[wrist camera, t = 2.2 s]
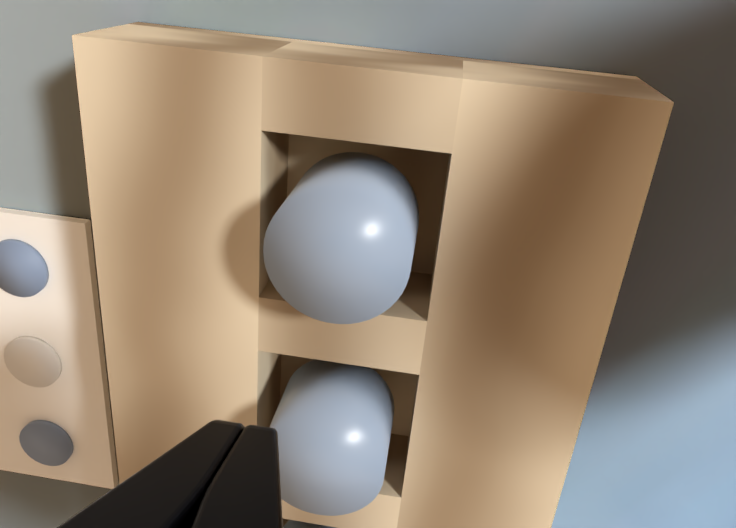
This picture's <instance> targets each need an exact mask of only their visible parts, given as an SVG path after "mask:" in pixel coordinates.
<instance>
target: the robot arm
mask: <svg viewBox="0 0 736 528" xmlns="http://www.w3.org/2000/svg"><path fill="white" fill-rule="evenodd" d="M57 528H283V518H282V500H281V483H280V465H279V448H278V433H277V431H276V429H274V428H270V427H264V426H257V425H248V426H246V427H245V426H244V425H243V424H241V423H237V422H231V421H224V420H213V421H210V422H209V423H207V424H206V425H204V426H203V427H201V428H200V429H199V430H197V431H196V432H194V433H193V434H191V435H190V436H188V437H187V438H186V439H184V440H183V441H181V442H180V443H178V444H177V445H175V446H174V447H173V448H171V449H170V450H168V451H167V452H165V453H164V454H162V455H161V456H160V457H158V458H157V459H155V460H154V461H152V462H151V463H149V464H148V465H147V466H145V467H144V468H142V469H141V470H139V471H138V472H136V473H135V474H134V475H132V476H131V477H129V478H128V479H126V480H125V481H123V482H122V483H121V484H119V485H118V486H116V487H115V488H113V489H112V490H110V491H109V492H107V493H106V494H105V495H103V496H102V497H100V498H99V499H97V500H96V501H94V502H93V503H92V504H90V505H89V506H87V507H86V508H84V509H83V510H81V511H80V512H79V513H77V514H76V515H74V516H73V517H71V518H70V519H68V520H67V521H66V522H64V523H63V524H61V525H60V526H58V527H57Z"/></svg>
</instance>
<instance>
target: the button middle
mask: <svg viewBox="0 0 736 528" xmlns="http://www.w3.org/2000/svg"><path fill="white" fill-rule="evenodd" d="M393 417H394V399H393V395H392V392H391V390H390V388H389V386H388V385H387V383H386V382H385V380H384V379H383V378H382V377H381V376H380V375H379V374H378V373H377V372H376V371H374V370H373V369H372V368H370V367H363V366H357V365H350V364H343V363H337V362H330V361H323V360H317V359H314V360H312V361H309V362H307V363H306V364H304V365H302V366H301V367H300V368H298V369H297V370H296V371H295V372H294V373H293V375H292V376H291V378H290V380H289V382H288V384H287V386H286V389H285V391H284V393H283V396H282V398H281V401H280V403H279V405H278V408H277V410H276V413H275V415H274V417H273V420H272V422H271V425H270V428H274V429H276V431H277V433H278V448H279V465H280V483H281V499H282V500H284V501H285V502H287V503H288V504H290V505H292V506H294V507H295V508H298V509H300V510H302V511H306V512H309V513H313V514H317V515H325V516H337V515H344V514H349V513H352V512H356V511H358V510H360V509H362V508H364V507H365V506H367V505H368V504H369V503H371V502H372V501H373V500H374V499H375V498H376V496H377V495H378V493H379V492H380V490H381V487H382V485H383V481H384V475H385V468H386V462H387V456H388V449H389V443H390V436H391V430H392V423H393Z"/></svg>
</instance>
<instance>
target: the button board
mask: <svg viewBox="0 0 736 528" xmlns="http://www.w3.org/2000/svg"><path fill="white" fill-rule="evenodd" d="M72 41H73V50H74V60H75V69H76V78H77V88H78V97H79V107H80V116H81V126H82V135H83V144H84V154H85V163H86V173H87V182H88V192H89V201H90V210H91V220H92V229H93V239H94V248H95V257H96V267H97V276H98V286H99V295H100V305H101V314H102V323H103V333H104V342H105V352H106V361H107V371H108V380H109V389H110V399H111V408H112V418H113V427H114V437H115V446H116V455H117V465H118V474H119V484H121V483H122V482H123V481H125V480H126V479H128V478H129V477H131V476H132V475H134V474H135V473H136V472H138V471H139V470H141V469H142V468H144V467H145V466H147V465H148V464H149V463H151V462H152V461H154V460H155V459H157V458H158V457H160V456H161V455H162V454H164V453H165V452H167V451H168V450H170V449H171V448H173V447H174V446H175V445H177V444H178V443H180V442H181V441H183V440H184V439H186V438H187V437H188V436H190V435H191V434H193V433H194V432H196V431H197V430H199V429H200V428H201V427H203V426H204V425H206V424H207V423H209V422H210V421H213V420H224V421H231V422H237V423H241V424H243V425H244V426H245V427H246V426H248V425H257V426H264V427H270V425H271V422H272V420H273V417H274V415H275V413H276V410H277V408H278V405H279V403H280V401H281V398H282V396H283V393H284V391H285V389H286V386H287V384H288V382H289V380H290V378H291V376H292V375H293V373H294V372H295V371H296V370H297V369H298V368H300V367H301V366H302V365H304V364H306V363H307V362H309V361H312V360H314V359H317V360H323V361H330V362H337V363H343V364H350V365H357V366H363V367H370V368H372V369H373V370H374V371H376V372H377V373H378V374H379V375H380V376H381V377H382V378H383V379H384V380H385V382H386V383H387V385H388V386H389V388H390V390H391V392H392V395H393V399H394V417H393V423H392V430H391V436H390V443H389V449H388V456H387V462H386V468H385V475H384V481H383V485H382V487H381V490H380V492H379V493H378V495H377V496H376V498H375V499H374V500H373V501H372V502H371V503H369V504H368V505H367V506H365V507H364V508H362V509H360V510H358V511H356V512H352V513H349V514H344V515H337V516H325V515H317V514H313V513H309V512H306V511H302V510H300V509H298V508H295V507H294V506H292V505H290V504H288V503H287V502H285V501H284V500H282V499H281V500H282V518H283V527H284V525H285V524H286V523H287V522H288V521H289V520H295V521H301V522H307V523H313V524H319V525H324V526H330V527H336V528H551V526H552V522H553V519H554V515H555V512H556V508H557V505H558V501H559V498H560V495H561V491H562V488H563V484H564V481H565V477H566V474H567V470H568V467H569V463H570V460H571V457H572V453H573V450H574V446H575V443H576V439H577V436H578V432H579V429H580V425H581V422H582V419H583V415H584V412H585V408H586V405H587V401H588V398H589V394H590V391H591V387H592V384H593V381H594V377H595V374H596V370H597V367H598V363H599V360H600V356H601V353H602V349H603V346H604V343H605V339H606V336H607V332H608V329H609V325H610V322H611V318H612V315H613V311H614V308H615V305H616V301H617V298H618V294H619V291H620V287H621V284H622V280H623V277H624V274H625V270H626V267H627V263H628V260H629V256H630V253H631V249H632V246H633V242H634V239H635V236H636V232H637V229H638V225H639V222H640V218H641V215H642V211H643V208H644V204H645V201H646V198H647V194H648V191H649V187H650V184H651V180H652V177H653V173H654V170H655V166H656V163H657V160H658V156H659V153H660V149H661V146H662V142H663V139H664V135H665V132H666V128H667V125H668V122H669V118H670V115H671V111H672V108H673V104H674V102H673V101H671V100H670V99H668V98H667V97H666V96H664V95H663V94H661V93H660V92H658V91H657V90H655V89H654V88H653V87H651V86H650V85H648V84H647V83H645V82H644V81H642V80H641V79H639V78H638V77H637V76H628V75H619V74H610V73H600V72H591V71H582V70H573V69H564V68H555V67H545V66H536V65H527V64H518V63H509V62H500V61H490V60H481V59H472V58H463V57H454V56H445V55H435V54H426V53H417V52H408V51H399V50H390V49H380V48H371V47H362V46H353V45H344V44H335V43H325V42H316V41H307V40H298V39H289V38H280V37H270V36H261V35H252V34H243V33H234V32H225V31H215V30H206V29H197V28H188V27H179V26H170V25H160V24H151V23H142V22H136V23H130V24H125V25H120V26H115V27H110V28H105V29H100V30H95V31H90V32H85V33H80V34H75V35H72ZM344 152H361V153H366V154H370V155H373V156H377V157H379V158H381V159H383V160H385V161H387V162H388V163H390V164H392V165H393V166H394V167H395V168H397V169H398V170H399V171H400V172H401V173H402V174H403V175H404V176H405V177H406V179H407V180H408V182H409V183H410V185H411V187H412V188H413V190H414V193H415V195H416V198H417V202H418V206H419V225H418V231H417V237H416V243H415V248H414V254H413V260H412V266H411V271H410V276H409V280H408V282H407V285H406V287H405V289H404V291H403V293H402V295H401V296H400V297H399V299H398V300H397V301H396V302H395V303H394V304H393V305H392V306H391V307H390V308H389V309H388V310H386V311H385V312H384V313H382V314H380V315H378V316H377V317H374V318H372V319H370V320H367V321H363V322H360V323H353V324H333V323H327V322H322V321H319V320H316V319H313V318H311V317H309V316H307V315H305V314H303V313H301V312H299V311H298V310H296V309H295V308H294V307H292V306H291V305H290V304H289V303H288V302H287V301H285V300H284V299H283V298H282V296H281V295H280V294H279V293H278V292H277V290H276V289H275V287H274V286H273V284H272V282H271V280H270V278H269V276H268V273H267V270H266V267H265V263H264V256H263V245H264V238H265V233H266V230H267V228H268V225H269V223H270V221H271V220H272V218H273V216H274V215H275V213H276V212H277V211H278V209H279V208H280V207H281V205H282V204H283V202H284V201H285V200H286V198H287V197H288V196H289V194H290V193H291V192H292V190H293V189H294V188H295V186H296V185H297V183H298V182H299V181H300V179H301V178H302V177H303V176H304V174H305V173H306V172H307V171H308V170H309V169H310V168H311V167H312V166H313V165H314V164H316V163H317V162H319V161H320V160H322V159H324V158H326V157H328V156H331V155H334V154H338V153H344Z"/></svg>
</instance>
